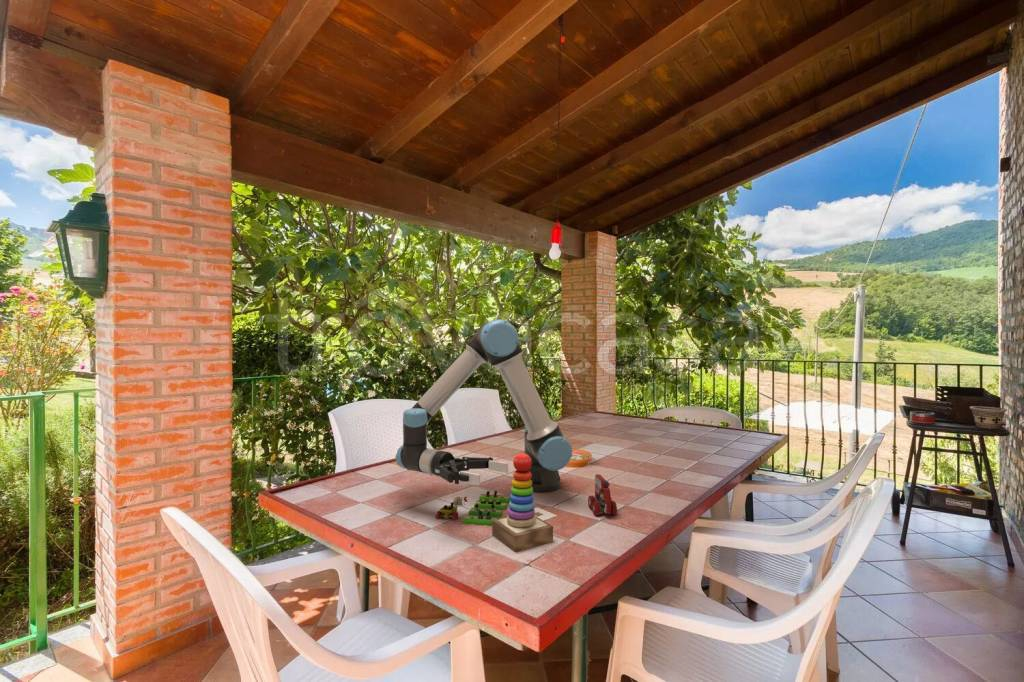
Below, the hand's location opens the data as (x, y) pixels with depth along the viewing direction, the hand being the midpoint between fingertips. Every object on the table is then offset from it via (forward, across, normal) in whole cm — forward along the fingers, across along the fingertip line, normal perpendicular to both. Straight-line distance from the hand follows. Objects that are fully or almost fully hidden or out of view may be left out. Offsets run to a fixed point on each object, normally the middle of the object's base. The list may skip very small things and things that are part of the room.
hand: (494, 473), depth 132 cm
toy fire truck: (+20, -30, -16) cm, 40 cm away
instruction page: (+4, -14, -16) cm, 22 cm away
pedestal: (+9, 0, -16) cm, 19 cm away
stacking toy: (+9, 0, -12) cm, 15 cm away
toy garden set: (-14, -10, -17) cm, 24 cm away
